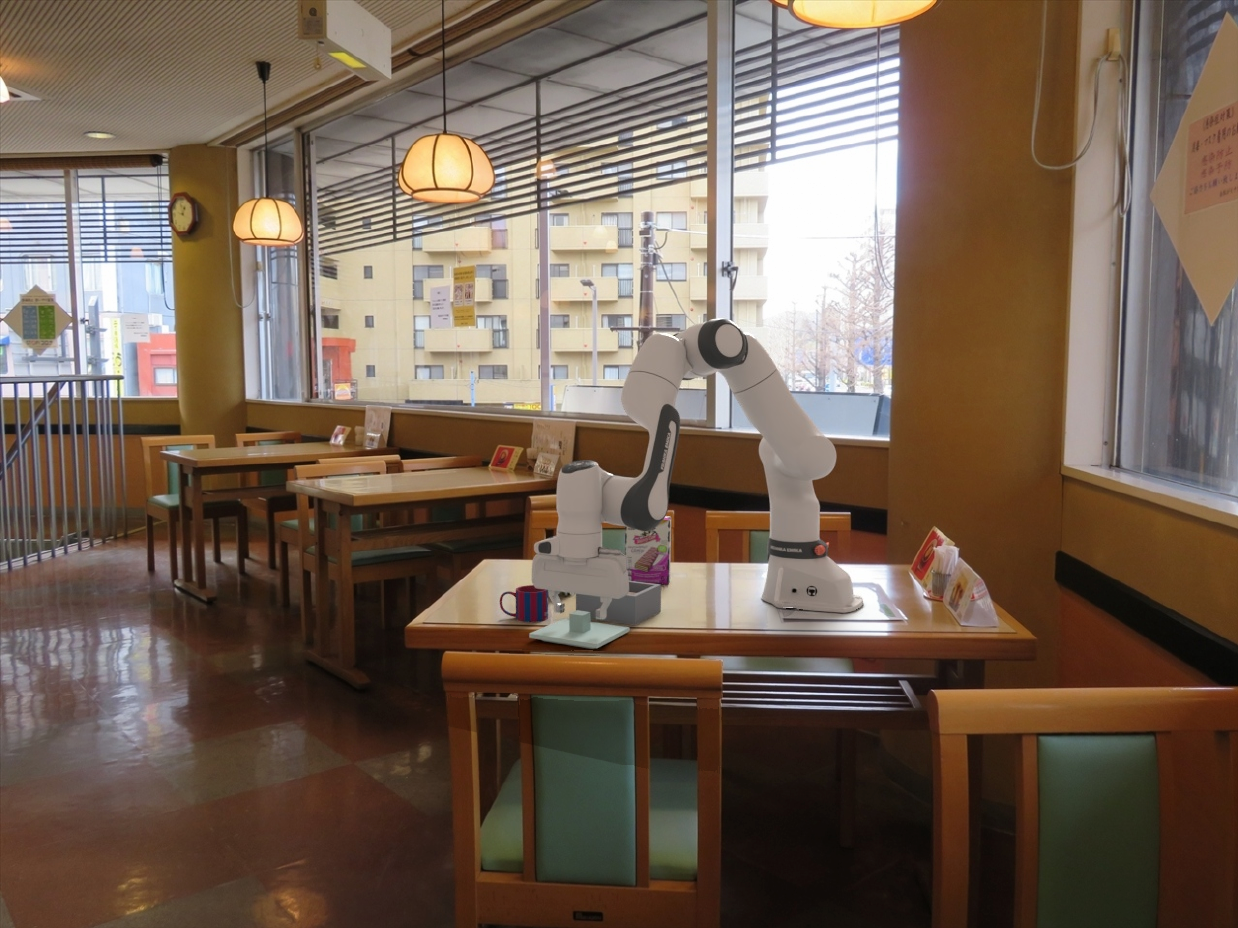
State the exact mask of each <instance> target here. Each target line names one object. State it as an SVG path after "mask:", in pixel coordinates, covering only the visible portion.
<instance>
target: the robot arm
mask: <svg viewBox="0 0 1238 928" xmlns="http://www.w3.org/2000/svg"><path fill="white" fill-rule="evenodd" d="M717 372H718V373H719V374H721V376H723V377H724V379H725V380H726V383H727V385H728V386H729V389H730V390H731V392H732V394H733V396H734V398H735V400H736V401H737V403H738V405H739V406H740V408H741V410H742V411H743V413H744V416H745V417H746V418H747V420H748V422H749V423H750V424H751V425H752V426H753V427H754V428H755V429H756V431H758V433H759V434H760V435H761V437H762V438H761V440H760V442H759V444H758V445H759V446H758V455H759V459H760V461H761V462H762V464H763V470H764V474H765V475H764V476H765V480H766V486H767V491H768V498H769V536H768V537H767V544H766V545H767V546H766V556H767V561H768V563H767V564H768V565H767V571H766V578H765V584H764V588H763V591H762V595H761V599H762V601H765V602H766V603H769V604H772V605H773V606H774V607H775V608H778V609H784V608H783V607H793V608H797V609H796V610H799V609H803V610H802V611H814V612H815V611H816V612H827V613H828V612H830V613H850V612H854V611H857V610H859V609H860V608H861V607H862V606H863V605H864V598H863V597H862V596H861V595H858V594H854V588H853V581H852V578H851V576H850V574H849V573H848V572H847V571H846V570H844V569H843V568H842V567H841V566H840V565H838V563H836V561H834V560H833V559H832V558H830V557H829V556H828V554H829V553H828V551H829V549H828V548H829V547H830V546H829V545H830V542H829V541H828V542H825V541H824V540H823V539H821V538H820V520H821V518H820V517H821V514H820V513H821V512H820V510H821V505H820V501H819V499H818V498H817V494H816V493H815V489H814V484H813V481H814V480H815V481H816V480H819V479H822V478H825V477H826V476H828V475H829V474H830V473H831V472H832V471H833V469H834V467H835V466H836V463H837V451H836V448H835V445H834V443H833V442H832V441H831V440H830V439H829V438H828V437H827V436H825V435H824V433H822V432H821V430H820V429H819V428H818V426H817V425H816V424H815V422H814V421H813V419H812V418H811V417H810V416H809V415H808V413H806V411H805V410H804V409H803V407H802V406H801V405H800V404H799V403H798V401H797V400H796V398H795V397H794V396H793V394H792V392H791V390H790V389H789V387H788V385H787V384H786V381H785V380H784V378H783V376H782V375H781V373H780V371H779V369H778V367H777V366H776V364H775V362H774V361H773V359H772V357H771V356H770V355H769V353H768V352H767V350H766V349H765V347H764V346H763V345H762V344H761V343H760V341H759V340H758V339H757V338H756V336H754V335H753V334H751V333H750V332H746V331H745V332H744V331H743V330H742V329H741V327H739V325H738V324H736V323H735V322H734V321H732V320H730V319H728V318H712V319H709V320H708V321H703V322H700V323H696V324H694V325H690V326H689V327H688V328H686V329H683V331H680V332H678V333H675V334H673V335H671V334H669V333H654V334H652V335H650V336H648V337H647V338H646V339H645V341H644V342H643V344H642V345H641V346H640V349H639V350H638V351H637V354H636V355H635V357H634V359H633V362H632V364H631V366H630V367H629V370H628V373H627V376H626V379H625V381H624V383H623V386H622V390H621V396H620V402H621V406H622V408H623V410H624V412H625V413H626V414H627V417H629V418H630V419H631V420H632V421H633V422H635V423H636V424H638V425H639V426H641V428H644V429H645V430H647V431H648V434H649V441H648V446H647V451H646V455H645V459H644V465H643V469H642V472H641V473H640V474H639V475H638V476H637V477H628V476H627V477H626V476H621V475H614V474H613V473H609V472H607V471H606V470H604V469H603V468H601V467H600V466H599V465H600V464H599V462H596V461H595V460H587V459H586V460H576V461H572V462H571V461H570V462H569V463H566V464H564V465H563V466H562V467H561V468H560V470H559V473H558V477H557V483H556V499H555V501H556V506H555V507H556V512H557V515H558V516H557V517H558V521H557V526H556V535H554V536H550V537H548V538H545V539H543V540H542V539H541V540H540V541H536V542H535V543H534V545H533V550H534V552H535V553H536V554H535V555H534V556H533V557H532V558H533V559H532V564H531V583H532V585H534V587H535V588H537V589H545V590H548V598H549V599H550V601H551V602H552V605H553V613H555V614H556V613H557V614H564V613H565V611H566V609H565V606H566V603H564V602H561V601H562V600H561V599H560V596H559V595H560V594H561V592H568V593H574V594H575V595H576V594H584V595H591V596H599V597H600V602H603V604H602V606H601V608H599V609H597V610H596V619H605V618H606V616H607V608H608V606H609V605H610V603H611V601H612V598H615V599H619V598H622V597H624V596H626V595H627V593H628V592H629V580H628V572H627V567H628V559H627V556H626V555H625V552H623V551H622V550H620V549H618V548H614V549H613V548H608V547H603V526H602V523H605V524H610V525H614V526H623V527H625V526H627V527H630V528H633V529H637V530H640V531H650V530H652V529H654V528H655V527H657V526H658V525H659V524H660V523H661V522H662V521H663V519H664V518H665V516H667V514H668V511H669V506H670V505H669V503H670V485H671V480H672V474H673V469H674V464H675V459H676V455H677V454H676V452H677V449H678V442H679V436H680V430H681V417H680V414H679V411H678V409H676V401H677V395H678V392H679V390H680V387H681V384H682V381H691V380H695V379H700V378H704V377H709V376H711V375H714V374H715V373H717ZM858 608H859V609H858ZM856 609H857V610H856ZM596 619H595V620H596Z"/></svg>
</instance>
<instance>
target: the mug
mask: <svg viewBox="0 0 1238 928" xmlns="http://www.w3.org/2000/svg"><path fill="white" fill-rule="evenodd" d="M508 594H509V595H512V596H513V597H515V613H514V612H509V611H507V610H506V609H505V608H504V606H503V598H504V596H505V595H508ZM499 597H500V598H499V606H500V610H501V611H502V612H503V613H504V614H505V615H506V616H507V615H508V616H510V617H514V618H515V619H516V620H517V621H518V622H523V623H539V622H544V621H546V620H548V619H549V595H548V590H545V589H537V588H535V587H534V585H533V584H529V585H521V586H517V587H516V588H515V591H510V590H509V591H504V592H503V593H502V594H501V595H500V596H499Z"/></svg>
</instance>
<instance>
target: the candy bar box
mask: <svg viewBox="0 0 1238 928" xmlns="http://www.w3.org/2000/svg"><path fill="white" fill-rule="evenodd" d="M624 529H625V530H624V554H625V555H626V556H627V559H628V567H627V572H628V580H629V581H635V582H643V583H652V584H660V585H667V586H668V585H670V581H671V555H672V554H671V552H672V551H671V548H672V546H671V544H672V543H671V541H672V539H671V538H672V536H671V535H672V517H671V516H667V515H666V516H665V518H664V519H663V521H662V522H661V523H660V524H659V525H658V526H657V527H655V528H654V529H652V530H650V531H640V530H637V529H633V528H630V527H627V526H624Z"/></svg>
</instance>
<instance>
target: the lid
mask: <svg viewBox="0 0 1238 928" xmlns="http://www.w3.org/2000/svg"><path fill="white" fill-rule="evenodd" d="M568 617H569V618H568ZM568 617H567V618H566V617H564V618H561V619H559V620H557V621H555V622H552V623H550V624H548V625H546V626H544V627H541V628H539V629H537V630H535V631H532V632H529V636H528V637H529V639H535V640H536V639H537V640H541V641H542V642H547V643H553V644H558V645H559V644H560V645H565V646H572V647H577V648H578V647H579V648H583V649H584V648H585V649H591V650H594V649H598V648H601V647H602V646H604V645H607V644H608V643H610V642H612V641H614V640H616V639H618V638H619V637H621V636H624V635H626V634H627V633H630V632H631V630H630V627H629V626H621V625H615V624H608V623H601V622H593V621H591V619H590V612H586V611H579V610H577V611H576V610H575V611H572V612H570V613H569V616H568Z"/></svg>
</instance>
